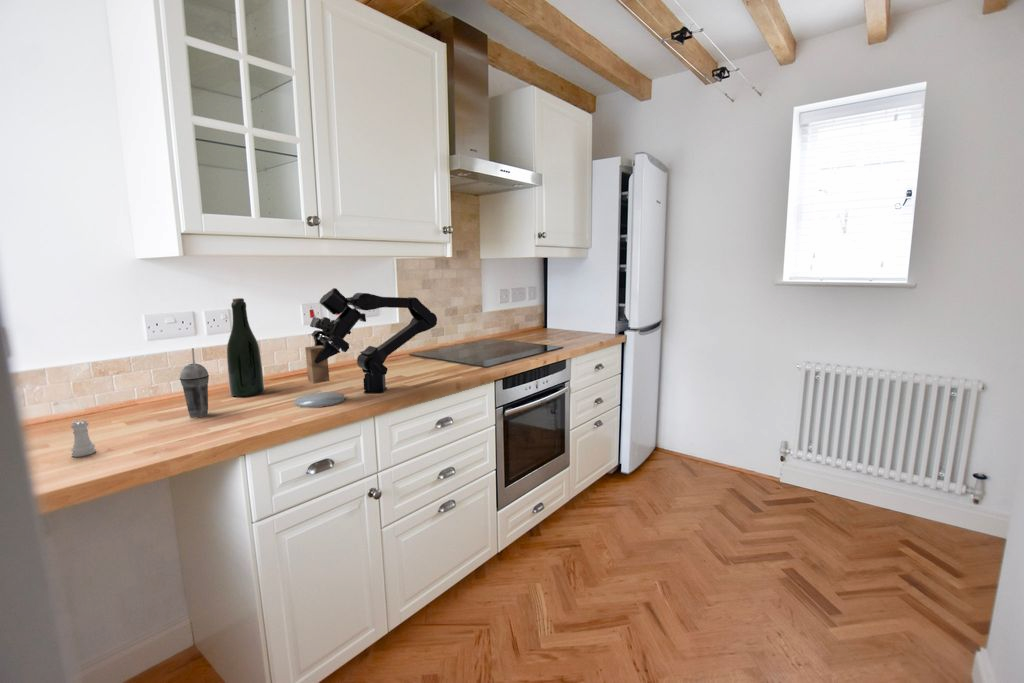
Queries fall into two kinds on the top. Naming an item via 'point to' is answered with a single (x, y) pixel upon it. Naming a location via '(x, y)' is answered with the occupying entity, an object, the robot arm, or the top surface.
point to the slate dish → (319, 399)
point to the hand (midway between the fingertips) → (312, 361)
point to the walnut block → (316, 365)
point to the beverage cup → (195, 388)
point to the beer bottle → (243, 355)
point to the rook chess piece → (81, 440)
